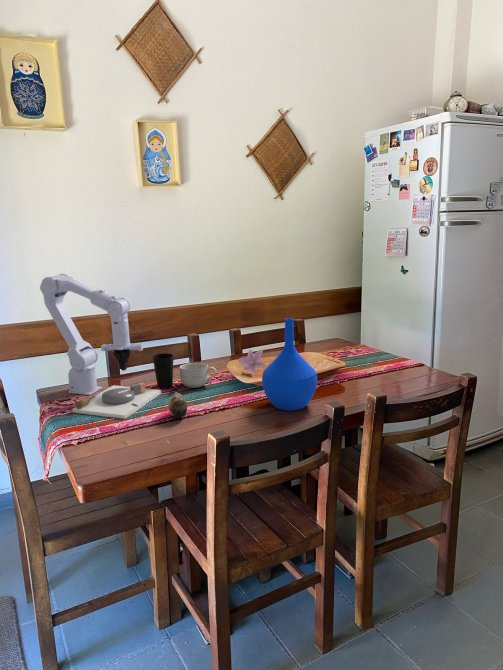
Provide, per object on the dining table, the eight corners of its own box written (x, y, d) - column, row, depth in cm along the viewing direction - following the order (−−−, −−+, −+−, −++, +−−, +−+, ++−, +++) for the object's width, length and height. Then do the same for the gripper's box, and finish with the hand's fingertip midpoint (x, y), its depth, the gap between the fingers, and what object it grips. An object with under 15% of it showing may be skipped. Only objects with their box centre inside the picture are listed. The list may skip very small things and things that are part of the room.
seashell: (166, 413, 170) (164, 390, 168) (182, 410, 172) (181, 387, 170) (173, 424, 162) (172, 400, 160) (191, 420, 164) (190, 397, 162)
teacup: (175, 388, 193) (173, 368, 191) (189, 379, 203) (188, 360, 201) (208, 392, 188) (207, 371, 186) (221, 383, 198) (220, 363, 196)
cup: (171, 390, 191) (169, 359, 188) (151, 389, 193) (149, 358, 190) (178, 383, 199) (176, 353, 196) (159, 382, 200) (157, 352, 197)
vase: (253, 401, 179) (251, 316, 172) (300, 392, 186) (300, 311, 179) (277, 420, 163) (276, 328, 155) (327, 410, 170) (328, 321, 162)
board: (73, 412, 173) (72, 408, 173) (113, 388, 195) (113, 384, 195) (125, 418, 167) (124, 414, 166) (160, 393, 189) (160, 389, 188)
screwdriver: (81, 409, 172) (81, 402, 172) (75, 408, 173) (75, 401, 172) (97, 399, 180) (97, 393, 180) (92, 399, 181) (91, 392, 181)
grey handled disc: (111, 406, 173) (110, 398, 172) (96, 398, 181) (95, 389, 180) (151, 395, 183) (151, 386, 182) (136, 387, 191) (135, 379, 190)
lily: (236, 372, 214) (230, 356, 207) (260, 358, 216) (255, 341, 210) (250, 388, 205) (245, 372, 199) (275, 373, 208) (270, 357, 202)
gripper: (96, 336, 180) (100, 373, 183) (137, 335, 179) (140, 373, 182) (103, 331, 187) (107, 367, 190) (143, 330, 186) (146, 366, 189)
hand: (124, 369), depth 186 cm, fingers closed
